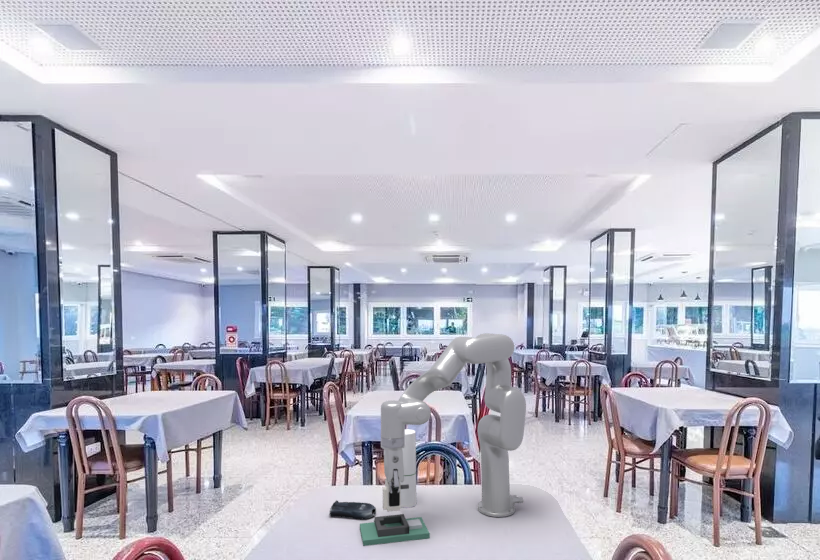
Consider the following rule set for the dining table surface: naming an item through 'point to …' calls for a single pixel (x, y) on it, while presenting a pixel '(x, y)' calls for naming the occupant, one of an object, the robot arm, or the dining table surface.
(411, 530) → the circuit board
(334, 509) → the electronic device
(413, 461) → the cylindrical container
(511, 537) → the dining table surface
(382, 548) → the dining table surface
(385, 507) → the keyed plug
